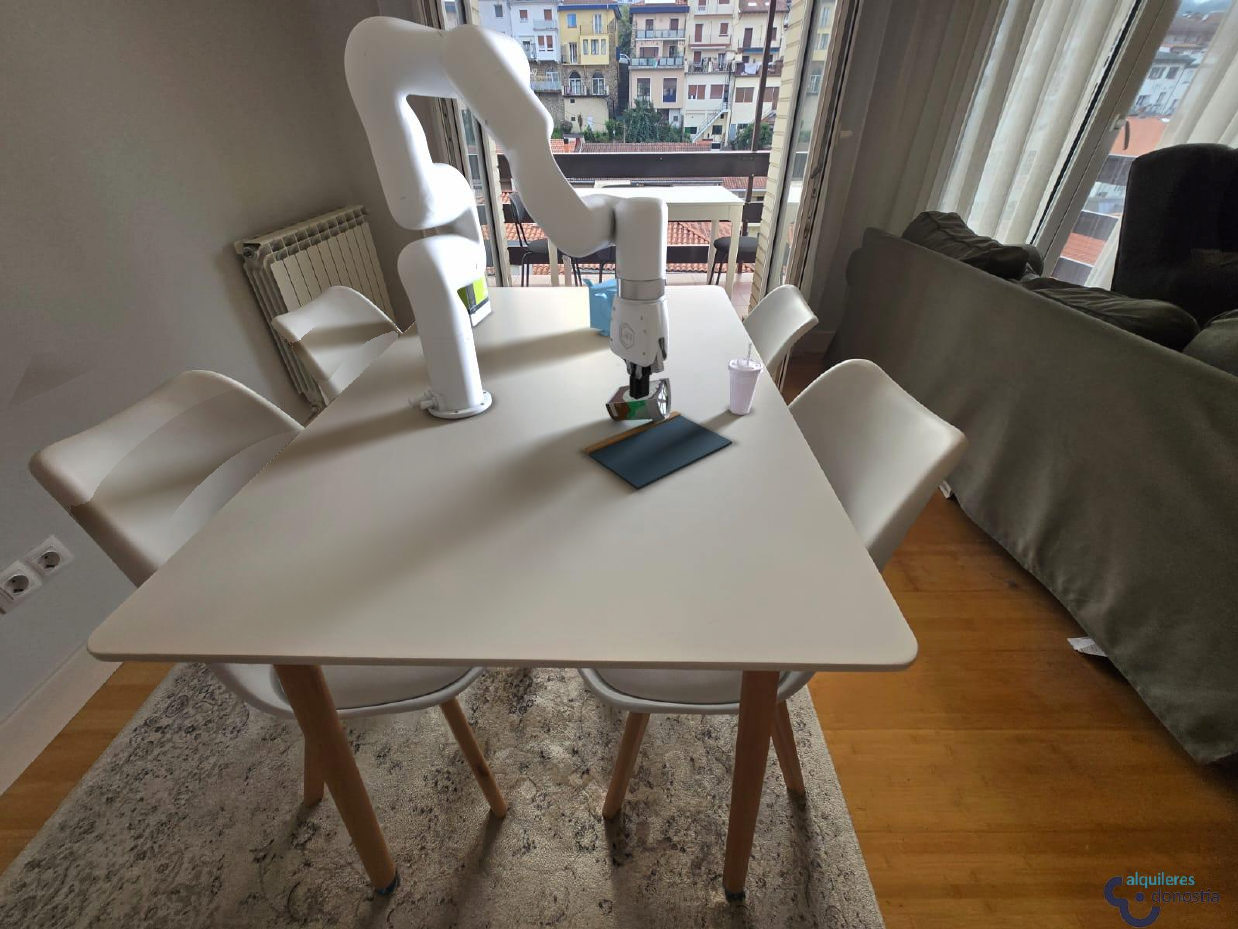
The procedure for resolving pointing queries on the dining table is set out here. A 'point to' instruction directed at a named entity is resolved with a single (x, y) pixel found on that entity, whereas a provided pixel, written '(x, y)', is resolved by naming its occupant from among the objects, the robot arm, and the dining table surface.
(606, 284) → the teakettle
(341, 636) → the dining table surface
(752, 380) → the smoothie
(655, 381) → the food container
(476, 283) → the tea box
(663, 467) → the dark blue notebook
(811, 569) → the dining table surface
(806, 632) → the dining table surface
